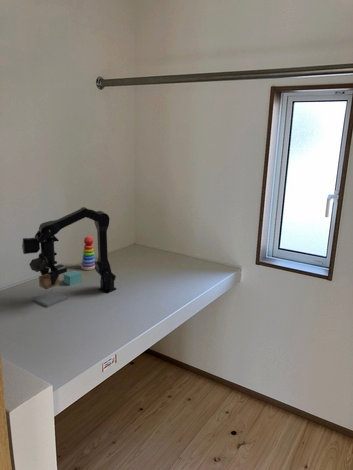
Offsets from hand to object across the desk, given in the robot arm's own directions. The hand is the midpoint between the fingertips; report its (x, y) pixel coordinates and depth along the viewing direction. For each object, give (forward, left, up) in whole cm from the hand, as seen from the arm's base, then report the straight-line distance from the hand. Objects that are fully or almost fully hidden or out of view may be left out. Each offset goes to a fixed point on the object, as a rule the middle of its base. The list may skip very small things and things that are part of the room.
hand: (49, 283), depth 172 cm
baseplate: (0, 0, -8) cm, 8 cm away
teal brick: (+8, -20, -8) cm, 23 cm away
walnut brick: (0, 0, -1) cm, 1 cm away
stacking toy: (+17, -39, -8) cm, 43 cm away
